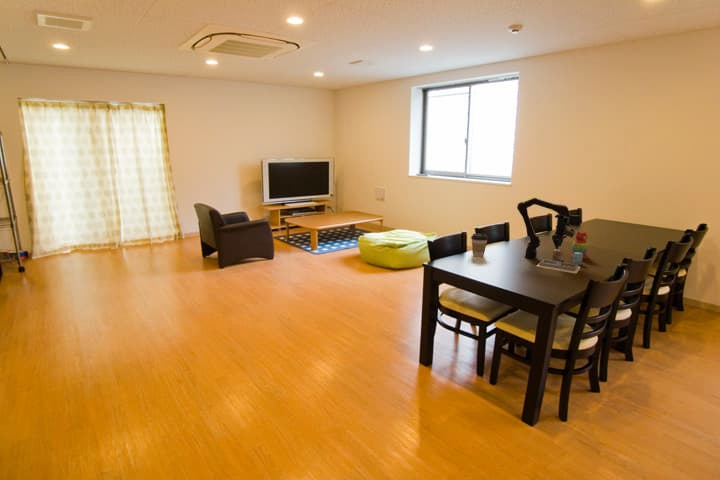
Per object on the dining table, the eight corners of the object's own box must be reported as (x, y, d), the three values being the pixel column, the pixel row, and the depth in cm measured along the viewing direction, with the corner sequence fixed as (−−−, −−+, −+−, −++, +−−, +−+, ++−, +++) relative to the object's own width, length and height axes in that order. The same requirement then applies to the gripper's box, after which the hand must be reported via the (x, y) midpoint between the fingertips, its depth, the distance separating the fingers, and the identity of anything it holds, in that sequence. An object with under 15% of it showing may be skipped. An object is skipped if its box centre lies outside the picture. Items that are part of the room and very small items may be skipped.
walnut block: (552, 260, 271) (553, 250, 269) (553, 258, 275) (555, 248, 273) (560, 261, 268) (561, 251, 266) (561, 260, 272) (563, 250, 270)
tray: (536, 266, 258) (536, 262, 257) (541, 261, 269) (542, 257, 268) (576, 273, 244) (576, 269, 244) (580, 267, 255) (581, 264, 255)
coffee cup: (487, 258, 275) (489, 237, 271) (470, 257, 277) (471, 236, 273) (485, 254, 285) (487, 233, 282) (469, 253, 288) (470, 232, 284)
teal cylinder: (572, 263, 264) (573, 253, 262) (573, 262, 268) (574, 251, 266) (580, 265, 261) (582, 254, 259) (581, 263, 265) (583, 253, 263)
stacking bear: (576, 259, 274) (580, 233, 269) (566, 255, 283) (569, 230, 279) (590, 258, 276) (594, 233, 271) (580, 254, 285) (583, 229, 281)
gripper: (572, 228, 254) (569, 252, 257) (577, 224, 268) (574, 246, 272) (553, 226, 260) (550, 249, 264) (559, 221, 274) (556, 244, 278)
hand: (558, 247), depth 269 cm, fingers open, 9 cm apart
